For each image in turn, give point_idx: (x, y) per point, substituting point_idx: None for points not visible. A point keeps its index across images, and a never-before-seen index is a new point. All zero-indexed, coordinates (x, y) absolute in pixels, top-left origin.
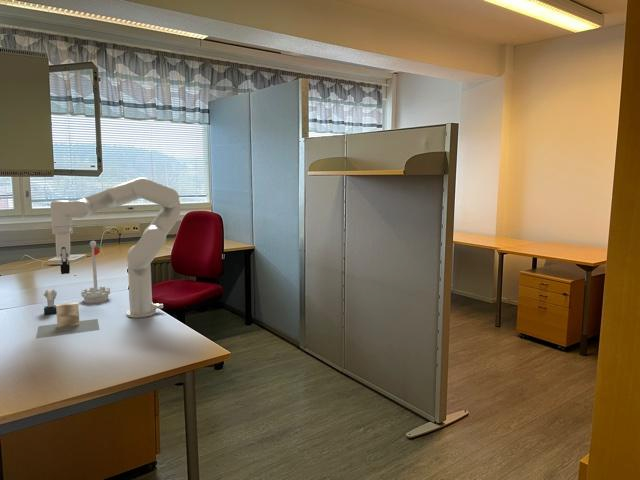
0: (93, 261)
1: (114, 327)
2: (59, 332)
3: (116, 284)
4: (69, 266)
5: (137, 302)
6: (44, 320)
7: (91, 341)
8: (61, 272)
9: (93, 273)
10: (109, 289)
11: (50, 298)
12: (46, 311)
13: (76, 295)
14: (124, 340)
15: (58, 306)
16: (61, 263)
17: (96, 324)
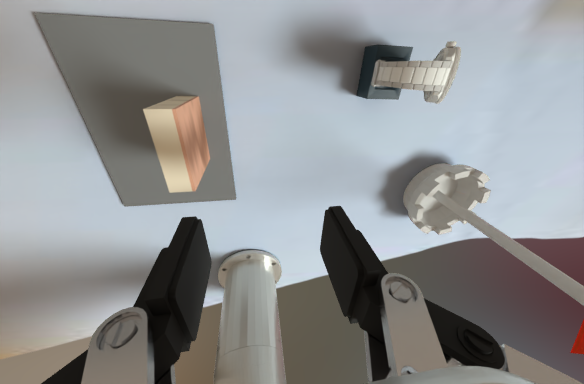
0: (557, 278)
1: (154, 232)
2: (109, 103)
3: (527, 224)
4: (332, 276)
5: (224, 298)
6: (299, 47)
7: (20, 189)
8: (181, 227)
9: (503, 237)
10: (436, 231)
11: (379, 76)
12: (369, 55)
13: (518, 143)
14: (32, 252)
15: (148, 119)
16: (97, 339)
17: (180, 198)
